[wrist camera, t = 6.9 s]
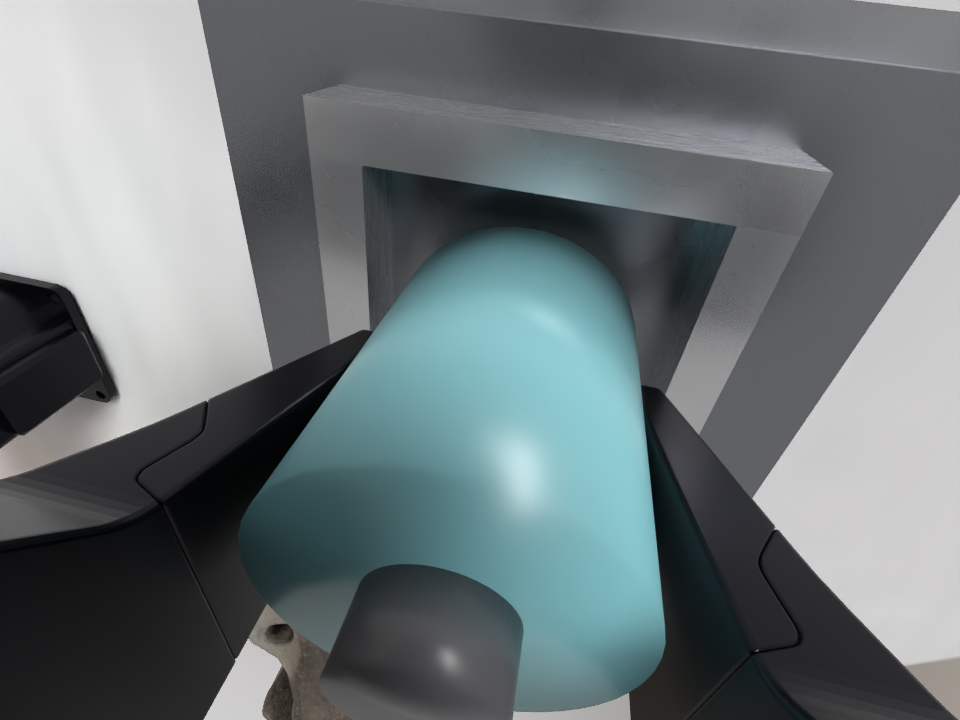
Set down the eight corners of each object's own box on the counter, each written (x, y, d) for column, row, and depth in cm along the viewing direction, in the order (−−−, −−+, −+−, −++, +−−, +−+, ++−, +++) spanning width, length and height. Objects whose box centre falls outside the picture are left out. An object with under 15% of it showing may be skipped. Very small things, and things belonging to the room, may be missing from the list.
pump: (402, 402, 12) (235, 729, 7) (402, 206, 9) (100, 503, 4) (601, 445, 12) (599, 838, 6) (669, 251, 9) (786, 675, 3)
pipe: (460, 509, 38) (246, 541, 32) (515, 564, 30) (241, 622, 23) (456, 704, 39) (250, 771, 33) (507, 807, 31) (248, 922, 25)
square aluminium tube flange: (350, 353, 20) (261, 473, 15) (317, -51, 12) (111, -93, 7) (698, 426, 19) (734, 587, 13) (906, 15, 11) (1177, 21, 6)
